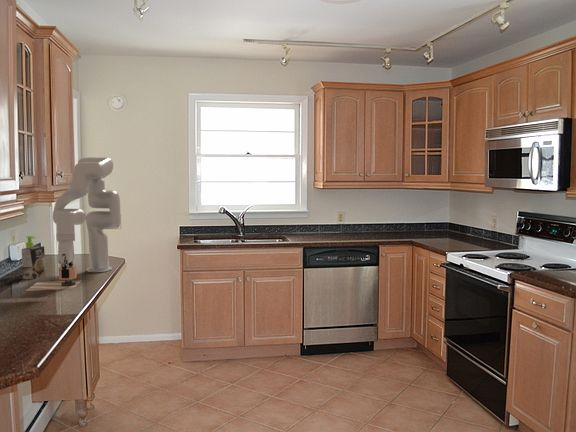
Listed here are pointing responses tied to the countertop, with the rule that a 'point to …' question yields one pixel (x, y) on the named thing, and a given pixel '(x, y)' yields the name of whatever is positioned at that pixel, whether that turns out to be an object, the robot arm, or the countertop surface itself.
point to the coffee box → (33, 262)
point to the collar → (71, 273)
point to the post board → (54, 285)
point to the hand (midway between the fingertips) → (67, 275)
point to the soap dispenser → (29, 241)
